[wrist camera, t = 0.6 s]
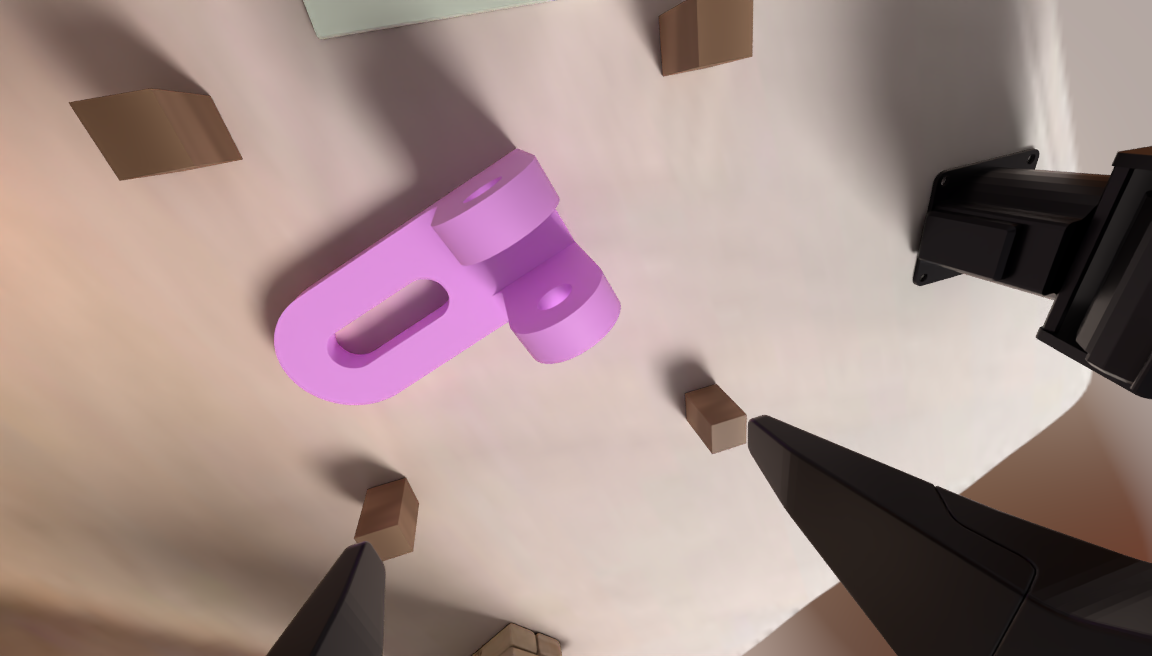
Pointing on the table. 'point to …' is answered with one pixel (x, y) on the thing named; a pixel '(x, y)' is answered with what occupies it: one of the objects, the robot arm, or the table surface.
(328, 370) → the bracket
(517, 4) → the felt pad
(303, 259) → the table surface
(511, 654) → the block tower
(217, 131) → the tiny cardboard boxes
